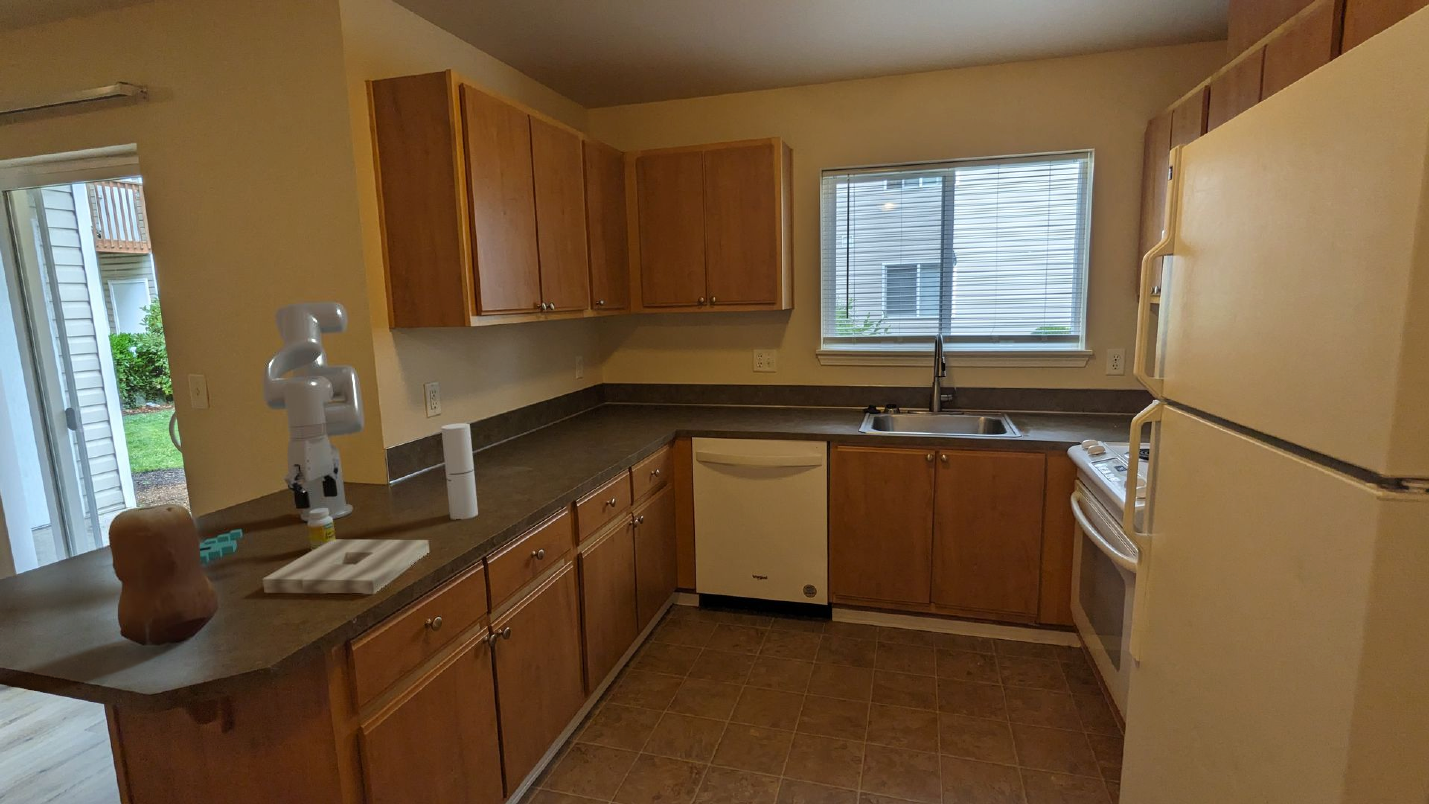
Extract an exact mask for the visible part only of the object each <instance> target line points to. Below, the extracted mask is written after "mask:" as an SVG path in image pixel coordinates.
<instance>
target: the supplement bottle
mask: <svg viewBox="0 0 1429 804" xmlns="http://www.w3.org/2000/svg"><path fill="white" fill-rule="evenodd" d="M309 515H310V518H311V519H310V520H309V521H307V529H308V538H309V543H310V549H311V551H313V550H315V549H316V548H318V547H320V546H322V545H323V544H325V543H327V542H329V541H330V540H332V539H336V531H335V525H334V519H333V518H332V517H330V516H328V515H329V510H328V508H318V509H314V510H311V511H310V512H309Z"/></svg>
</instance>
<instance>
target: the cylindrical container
mask: <svg viewBox="0 0 1429 804" xmlns="http://www.w3.org/2000/svg"><path fill="white" fill-rule="evenodd" d="M440 428H441V429H440V430H441V437H442V438H441V439H442V446H443V447H442V448H443V457H444V466H445V467H444V468H445V476H446V488H447V498H448V507H449V517H450V519H451V520H456V519H461V520H467V519H471V518H474V517H477V516H478V514H479V512H478V511H479V509H478V499H477V489H476V488H477V487H476V478H475V465H474V456H473V448H472V447H473V446H472V433H471V425H470V424H469V423H464V422H463V423H461V422H459V423H452V424H451V423H450V424H446V425H442V426H441V427H440Z"/></svg>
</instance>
